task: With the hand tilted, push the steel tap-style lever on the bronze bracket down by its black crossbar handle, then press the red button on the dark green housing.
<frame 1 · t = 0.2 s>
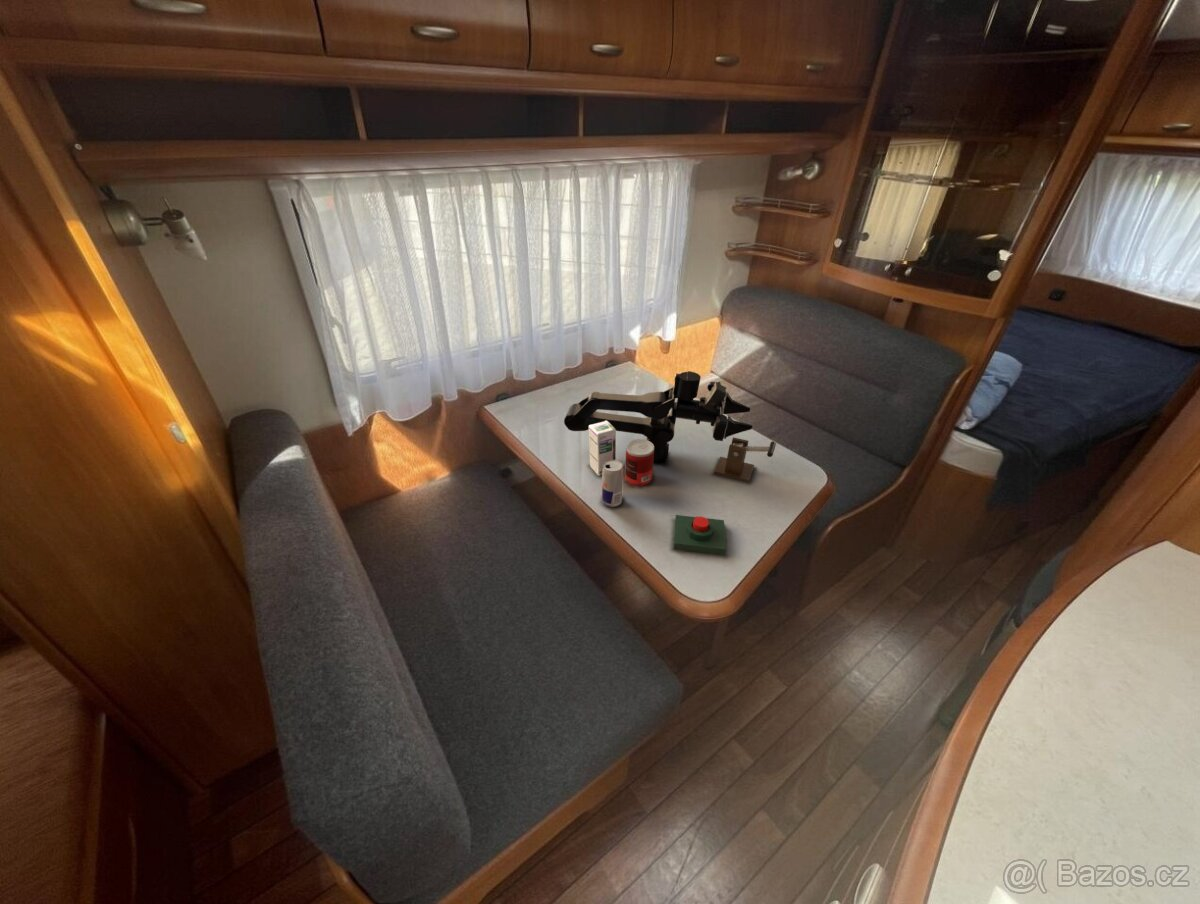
hand: (751, 418, 132), 17 cm above the table, tool horizontal, fingers open, 9 cm apart
energy drink: (612, 501, 129), on the table
button: (700, 524, 115), point 4 cm above the table, slide at 0.1 cm
syrup box: (602, 469, 141), on the table
canned food: (638, 479, 137), on the table
lever: (753, 448, 133), point 9 cm above the table, hinge at 15.0°
bracket: (733, 471, 139), on the table
button box: (698, 537, 117), on the table
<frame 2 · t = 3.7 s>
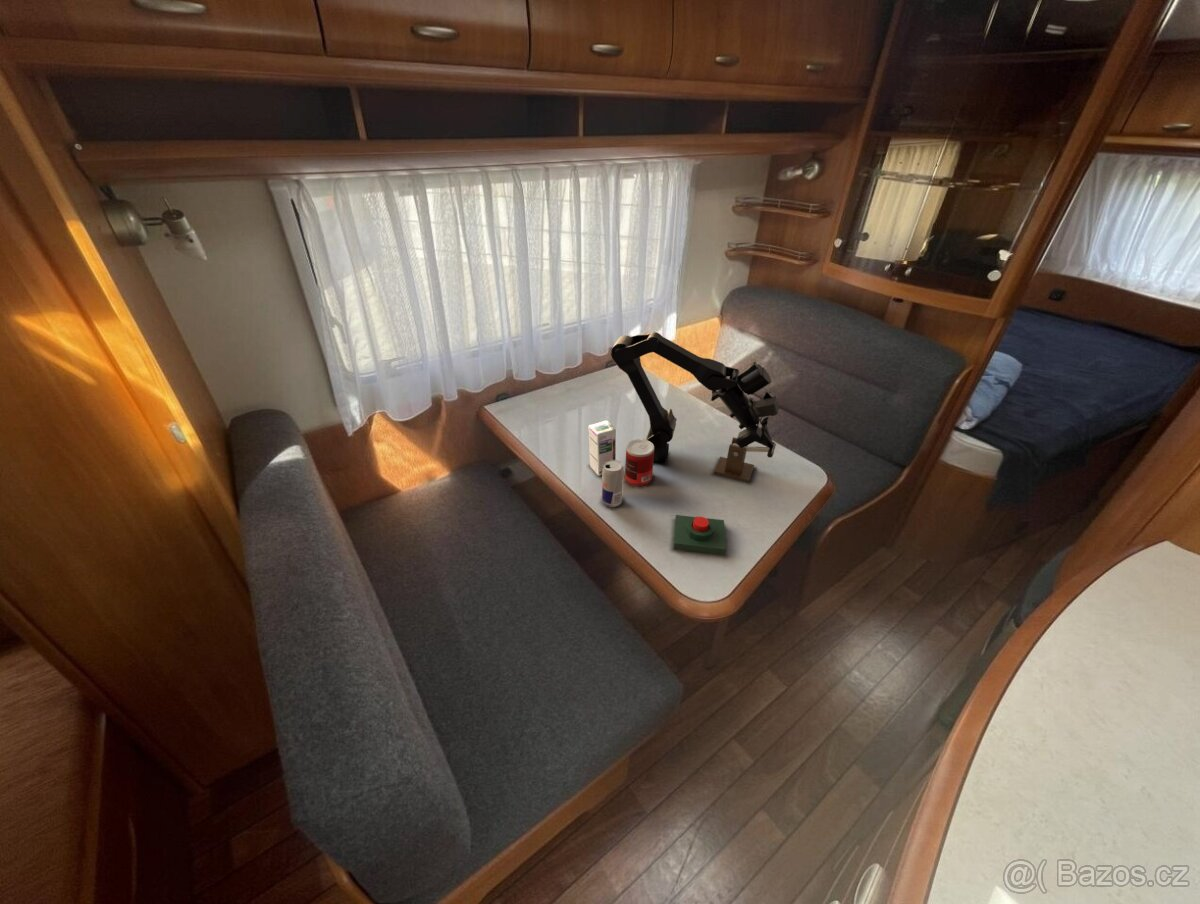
hand: (772, 446, 130), 11 cm above the table, tool tilted 45°, fingers closed, pressing on lever
lever: (753, 449, 133), point 9 cm above the table, hinge at 14.0°, touching gripper
everything else where it was.
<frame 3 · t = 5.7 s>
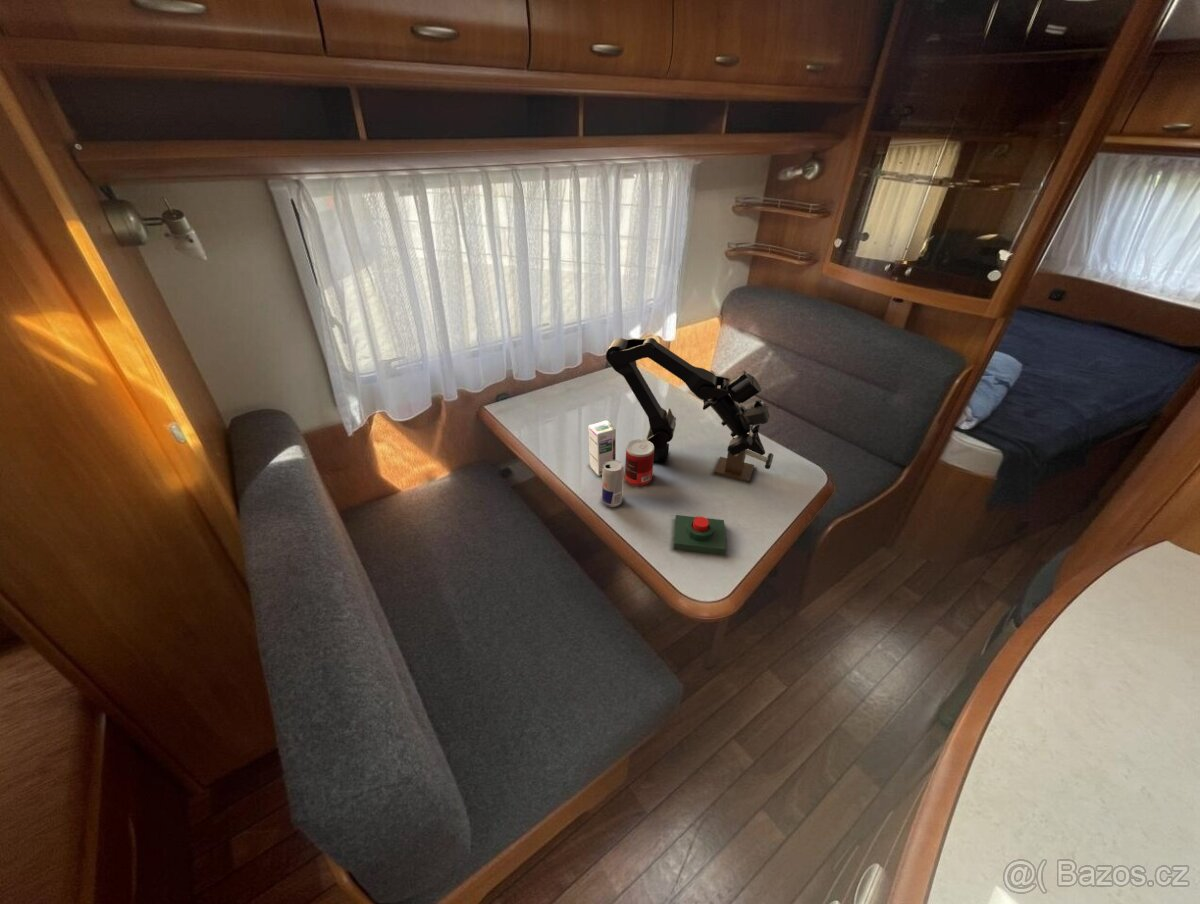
hand: (763, 453, 132), 8 cm above the table, tool tilted 45°, fingers closed
lever: (752, 454, 134), point 7 cm above the table, hinge at -10.4°
everything else where it was.
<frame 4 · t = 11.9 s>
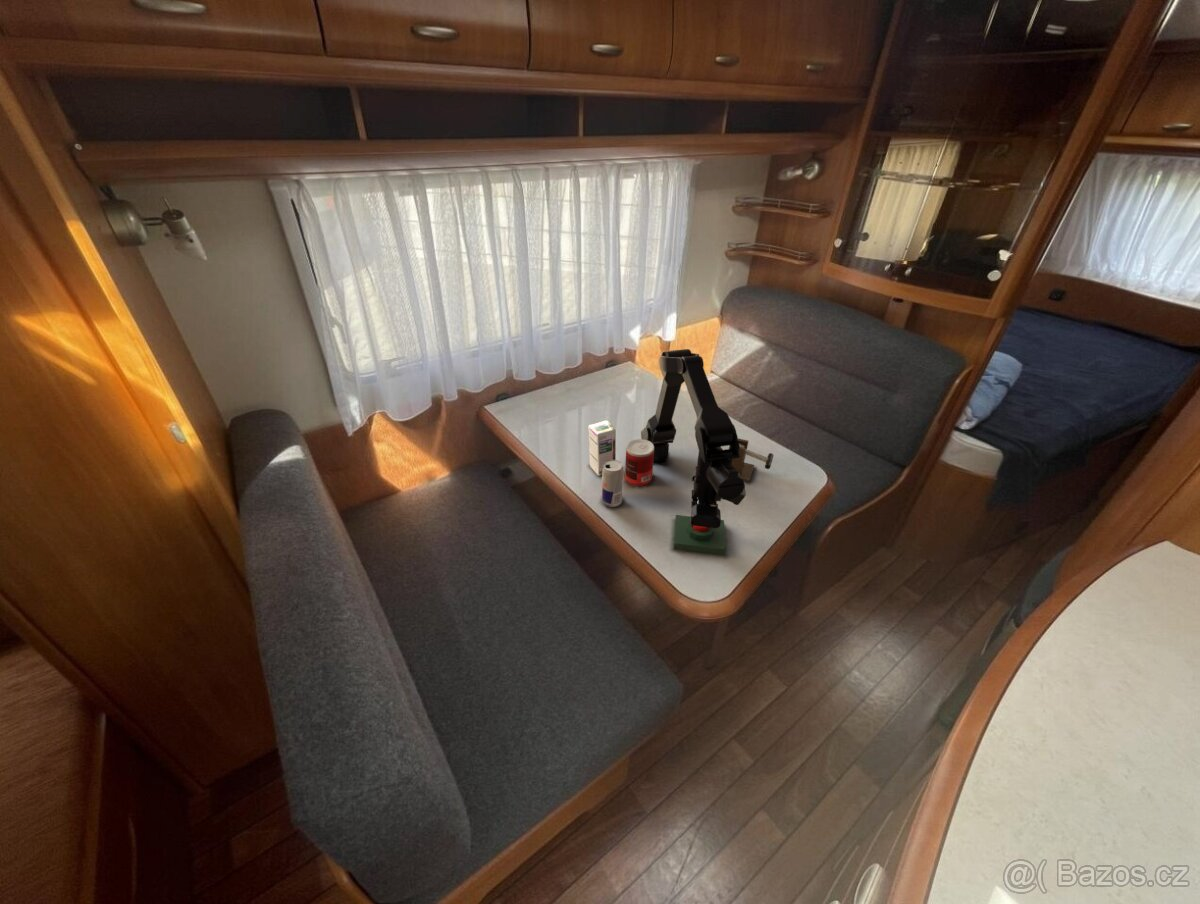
hand: (701, 522, 115), 5 cm above the table, tool pointing down, fingers closed, pressing on button
button: (700, 525, 115), point 4 cm above the table, slide at -0.1 cm, touching gripper
everything else where it was.
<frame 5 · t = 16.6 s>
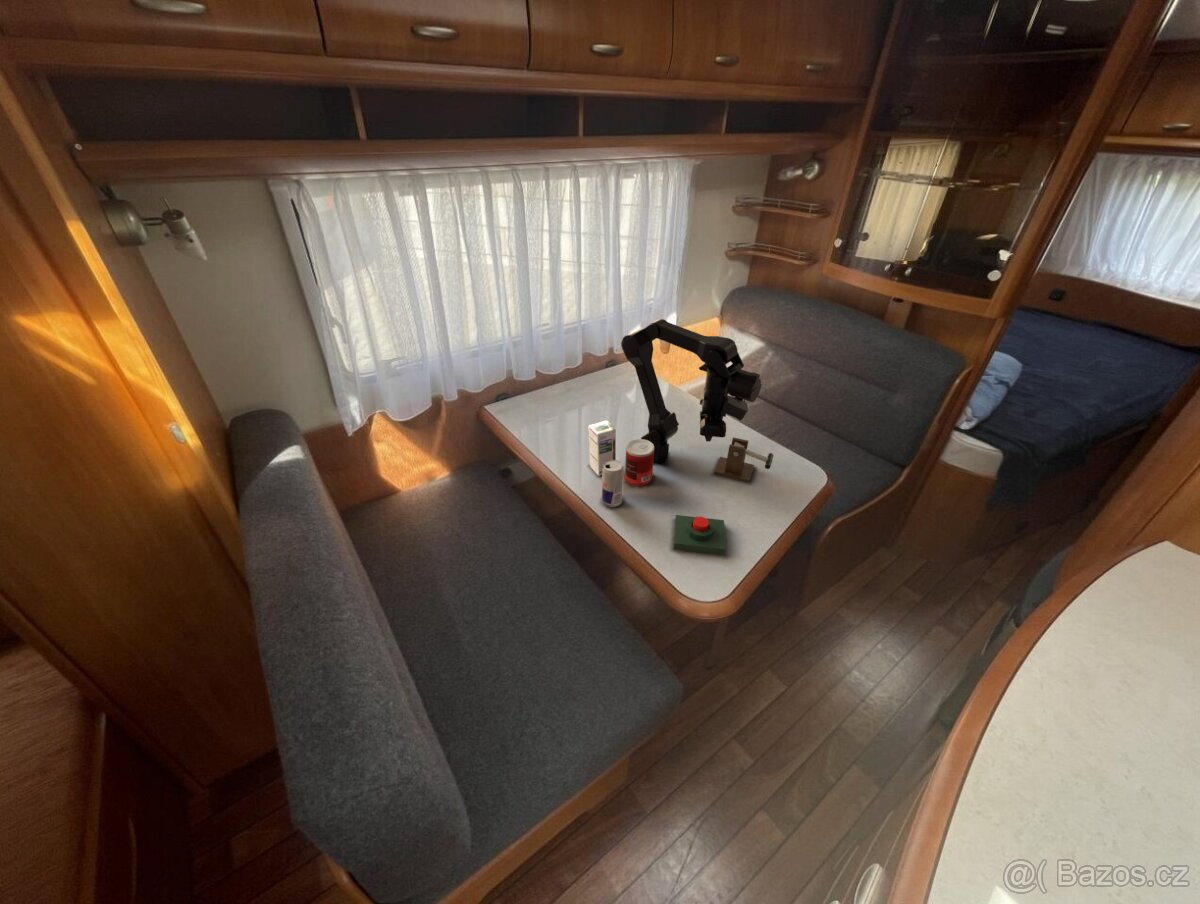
hand: (708, 440, 129), 13 cm above the table, tool pointing down, fingers closed
button: (700, 524, 115), point 4 cm above the table, slide at 0.1 cm
everything else where it was.
at the end: lever at -10° (first picture: +15°); button pushed in 1.1 cm at the most during the clip, back to where it started at the end; button slide at 0.1 cm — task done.
